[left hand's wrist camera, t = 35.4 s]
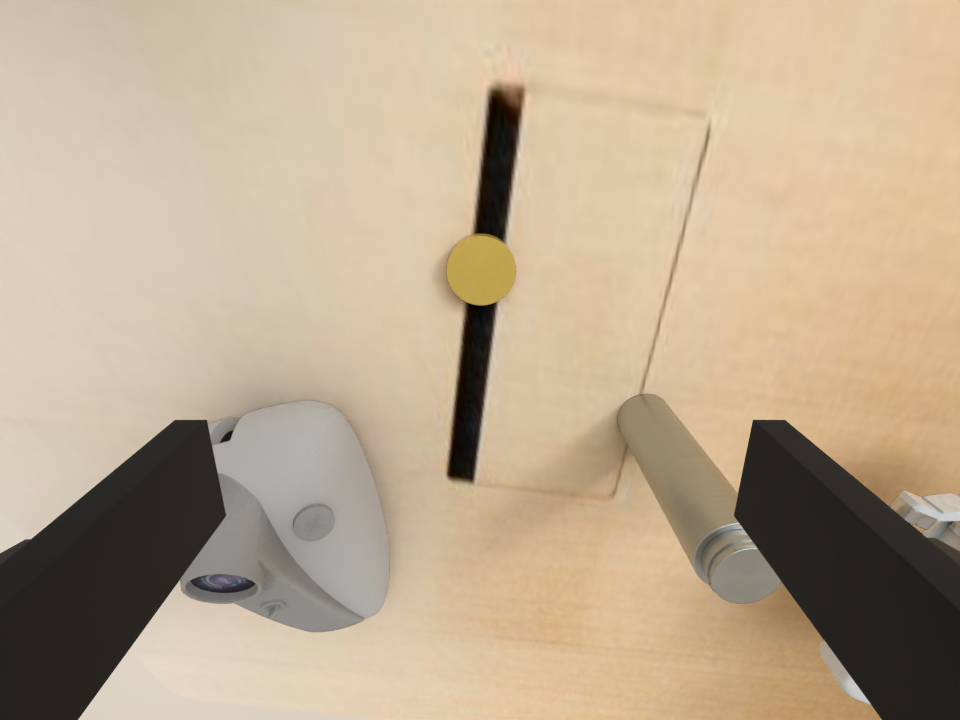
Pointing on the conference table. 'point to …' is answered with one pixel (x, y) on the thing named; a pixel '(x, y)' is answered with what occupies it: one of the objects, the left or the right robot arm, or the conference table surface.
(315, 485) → the projector
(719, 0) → the conference table surface
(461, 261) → the lid
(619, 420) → the bottle
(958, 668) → the left robot arm
